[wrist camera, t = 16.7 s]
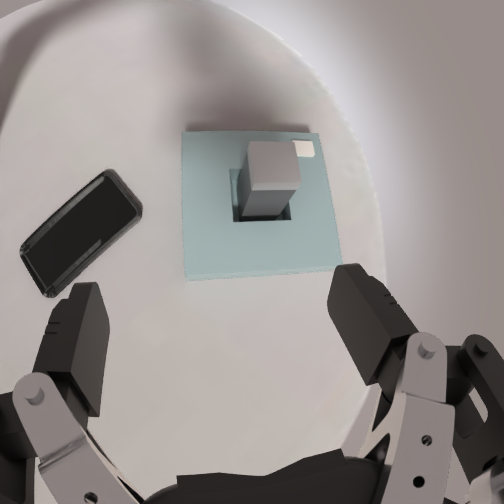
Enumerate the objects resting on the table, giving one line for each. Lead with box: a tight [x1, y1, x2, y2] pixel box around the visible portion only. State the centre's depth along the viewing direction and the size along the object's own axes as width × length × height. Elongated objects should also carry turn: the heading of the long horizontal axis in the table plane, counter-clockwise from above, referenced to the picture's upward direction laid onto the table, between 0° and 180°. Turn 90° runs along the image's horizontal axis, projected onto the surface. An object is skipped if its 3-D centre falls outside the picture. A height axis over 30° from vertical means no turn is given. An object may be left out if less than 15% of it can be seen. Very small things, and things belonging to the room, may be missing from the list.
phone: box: [20, 172, 142, 298], centre depth 32 cm, size 8×1×15 cm
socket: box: [182, 131, 343, 281], centre depth 34 cm, size 16×16×4 cm
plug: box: [236, 141, 302, 222], centre depth 31 cm, size 4×4×10 cm
